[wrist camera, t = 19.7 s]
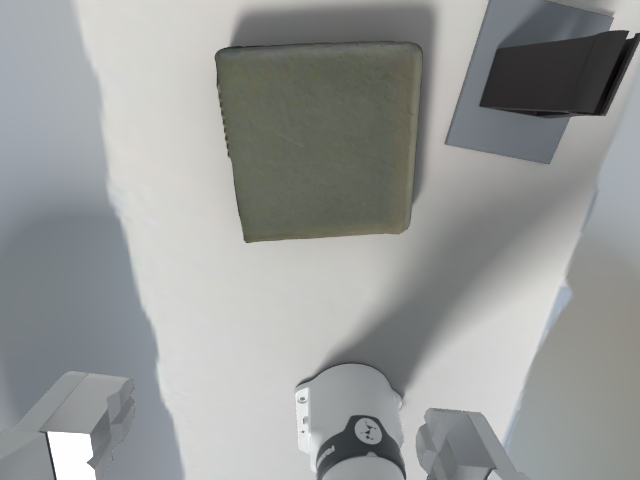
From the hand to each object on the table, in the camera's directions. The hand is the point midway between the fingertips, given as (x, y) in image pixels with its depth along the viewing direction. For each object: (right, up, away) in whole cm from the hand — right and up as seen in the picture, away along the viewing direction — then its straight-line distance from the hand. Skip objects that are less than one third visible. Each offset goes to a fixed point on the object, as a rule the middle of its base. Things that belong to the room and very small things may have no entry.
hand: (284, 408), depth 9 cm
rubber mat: (+25, +23, +28) cm, 44 cm away
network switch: (+1, +16, +31) cm, 35 cm away
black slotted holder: (+25, +23, +28) cm, 44 cm away
